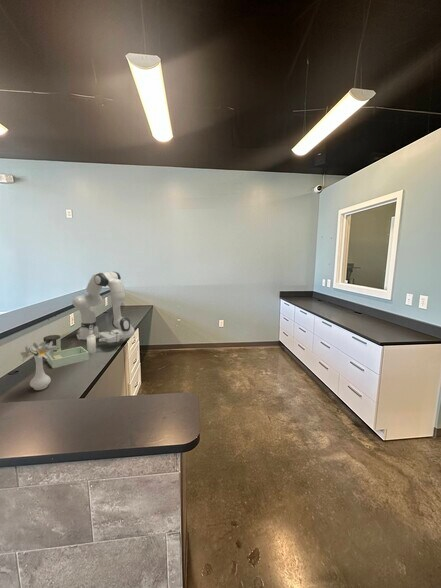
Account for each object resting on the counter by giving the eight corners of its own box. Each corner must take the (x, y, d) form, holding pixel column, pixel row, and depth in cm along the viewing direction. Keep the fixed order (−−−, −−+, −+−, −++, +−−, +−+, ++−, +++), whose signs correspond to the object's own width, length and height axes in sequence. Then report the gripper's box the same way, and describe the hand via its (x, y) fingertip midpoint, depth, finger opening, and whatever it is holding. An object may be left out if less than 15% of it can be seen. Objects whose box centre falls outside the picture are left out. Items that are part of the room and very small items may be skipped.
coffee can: (49, 359, 174) (48, 340, 172) (41, 356, 179) (40, 337, 177) (64, 354, 183) (63, 336, 181) (56, 352, 188) (55, 334, 186)
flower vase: (61, 378, 147) (59, 337, 144) (44, 395, 129) (41, 349, 126) (37, 379, 145) (34, 338, 142) (16, 396, 127) (12, 349, 124)
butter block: (53, 361, 169) (53, 356, 168) (60, 360, 172) (59, 354, 171) (56, 365, 164) (55, 359, 164) (63, 363, 167) (62, 357, 166)
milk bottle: (86, 351, 191) (85, 328, 188) (94, 349, 195) (93, 326, 192) (88, 353, 186) (87, 329, 184) (97, 351, 191) (96, 328, 188)
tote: (47, 362, 170) (46, 353, 169) (81, 354, 185) (81, 346, 185) (52, 369, 159) (52, 360, 158) (88, 360, 175) (88, 352, 174)
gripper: (109, 328, 209) (91, 331, 199) (119, 334, 195) (101, 337, 185) (109, 336, 210) (91, 339, 200) (120, 342, 196) (101, 346, 186)
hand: (96, 338), depth 192 cm, fingers open, 8 cm apart
